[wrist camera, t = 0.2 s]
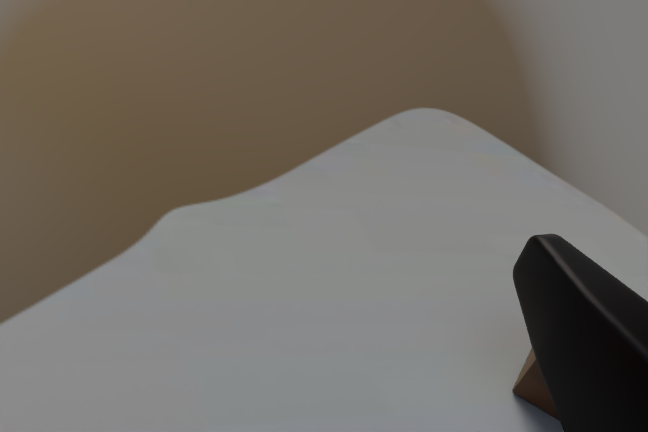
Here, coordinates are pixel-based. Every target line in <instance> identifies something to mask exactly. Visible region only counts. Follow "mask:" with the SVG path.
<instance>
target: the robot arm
mask: <svg viewBox="0 0 648 432" xmlns="http://www.w3.org/2000/svg"><path fill="white" fill-rule="evenodd" d="M513 280H514V284H515V288H516V291H517V295H518V298H519V302H520V305H521V309H522V313H523V316H524V320H525V323H526V327H527V330H528V334H529V337H530V341H531V344H532V348H533V351H534V354H535V357H536V361H537V364H538V366H539V369H540V372H541V374H542V377H543V379H544V382H545V384H546V387H547V389H548V392H549V394H550V397H551V399H552V402H553V404H554V407H555V409H556V412H557V414H558V417H559V419H560V421H561V424H562V426H563V429H564V431H565V432H648V302H647V301H646V300H645V299H643V298H642V297H641V296H639V295H638V294H637V293H635V292H634V291H633V290H631V289H630V288H629V287H627V286H626V285H625V284H623V283H622V282H621V281H619V280H618V279H617V278H615V277H614V276H613V275H611V274H610V273H609V272H607V271H606V270H605V269H603V268H602V267H601V266H599V265H598V264H597V263H595V262H594V261H593V260H591V259H590V258H589V257H587V256H586V255H585V254H583V253H582V252H580V251H579V250H578V249H576V248H575V247H574V246H572V245H571V244H570V243H568V242H567V241H566V240H564V239H563V238H562V237H560V236H558V235H555V234H545V235H535V236H532V237H531V238H530V239H529V240H528V241H527V243H526V245H525V247H524V249H523V251H522V252H521V254H520V256H519V258H518V260H517V262H516V264H515V266H514V269H513Z"/></svg>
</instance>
